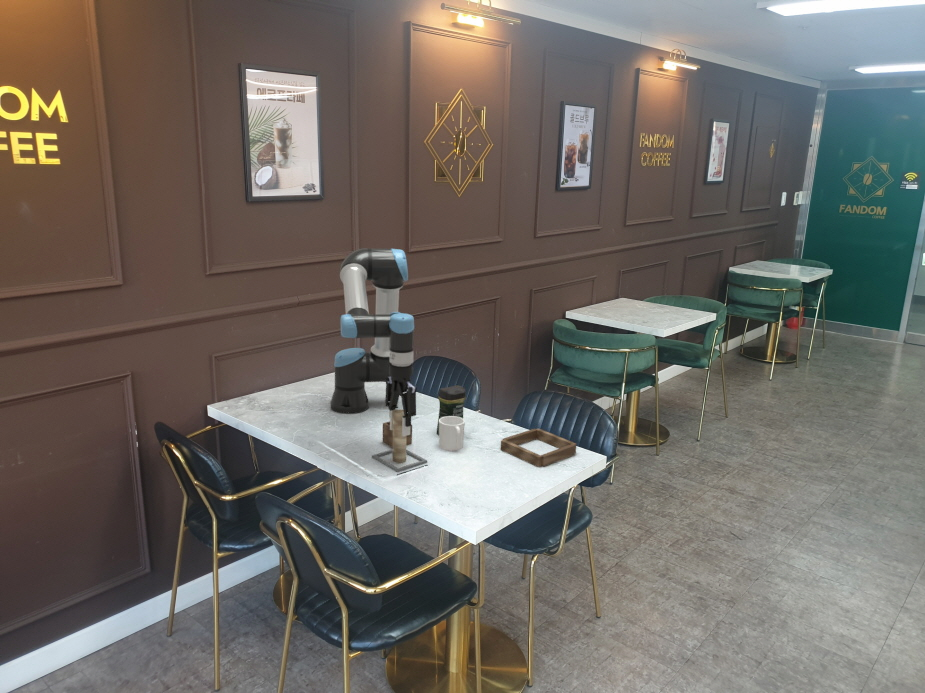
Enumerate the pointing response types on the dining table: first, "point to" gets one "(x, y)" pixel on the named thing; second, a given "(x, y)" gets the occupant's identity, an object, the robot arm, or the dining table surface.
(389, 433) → the pen cup
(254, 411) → the dining table surface
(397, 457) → the dowel
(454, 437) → the mug
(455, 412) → the coffee jar
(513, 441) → the frame
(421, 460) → the tray
